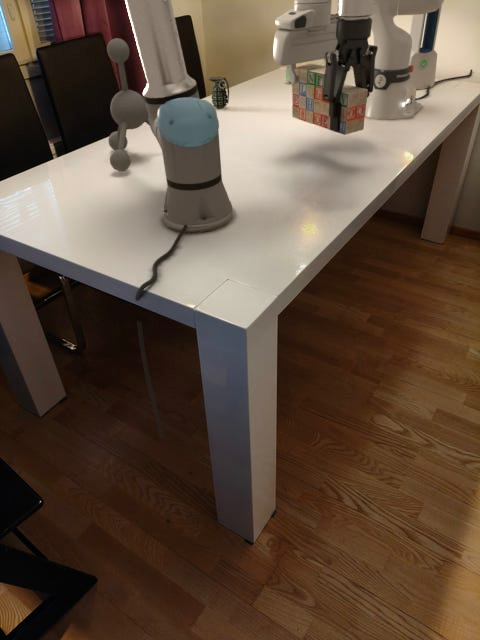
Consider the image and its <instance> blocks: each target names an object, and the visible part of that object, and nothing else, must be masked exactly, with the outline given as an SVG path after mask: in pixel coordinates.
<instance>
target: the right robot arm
mask: <svg viewBox="0 0 480 640" xmlns="http://www.w3.org/2000/svg"><path fill="white" fill-rule="evenodd" d="M444 2H445V0H374V8H373V14H372V15H371V16H370V18H371V19H372V27H371V33H372V36H373V45H374V46H377V47H378V49H377V53H376V56H375V69H374V85H373V91H372V92H371V93H370V92H369V93H370V95H369V97H367V103H366V111H365V117H367V118H370V119H376V120H398V119H411V118H413V117H414V116H415V114H416V113H417V112H418V111H419V110H420V109H421V108H422V103H420V102H419V101H417V100H422V99H425V98H426V97H427V96H429V95H430V89H431V88H430V86H428V88H426V94H424V95H422V96H421V97H418V98H416V97H417V89H416V88H415V87H414V86H413V84H412V83H411V81H410V80H409V78H410V72H413V69H414V67H413V65H411V66H409V61H410V55H411V48H412V38H411V36H410V33H409V32H407V31H406V30H405V29H403V28H401V27H400V26H398V25H396V24H395V20H394V18H395V17H397V16H413V15H421V14H426V15H427V13H430V12H434V11H436V10H437V9H439V7H440V6H441V5H442V6H443V3H444ZM332 3H333V1H332V0H293V8H290V9H289V10H288V11H286V12H284V13H282V14H281V15H279V16H277V17H276V18H275V22H274V23H275V27H276V28H277V30H276V31H275V34H274V36H273V37H274V38H273V48H272V50H273V53H272V55H273V56H272V57H273V61H274V63H275V64H276V65H277V66H282V67H286V68H287V70H288V72H289V74H290V81H289V82H290V84H291V85H292V84H296V83H299V75H296V73H295V70H294V69H296V64H297V63H303V62H309V61H314V60H320V59H324V62H325V64H324V66H326V60H325V54H326V52H332V51H334V50H335V49H336V46H337V43H338V40H337V38H336V26H337V20H338V19H340V17H339V16H338V15H337V13H332ZM472 74H473V69H470V71H469V74H465V75H461V76H460V75H459V76H453V77H448V78H443V79H439V80H437V81H436V80H435V83H434V85H437V84H440V83H443V82H448V81H453V80H459V79H465V78H469V77H470V76H472Z"/></svg>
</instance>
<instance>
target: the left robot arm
mask: <svg viewBox="0 0 480 640" xmlns="http://www.w3.org/2000/svg"><path fill="white" fill-rule="evenodd" d="M124 1H125V5H126V9H127V13H128V17H129V20H130V23H131V27H132V32H133V34H134V39H135V42H136V47H137V50H138V53H139V54H138V55H139V57H140V62H141V65H142V68H143V72H144V77H145V80H146V86H145V88H144V89H143V92H142V97H143V99H144V100H145V103H146V107H147V111H148V112H147V117H149V125H150V126H149V125H148V126H149V128H150V131H151V132H152V134H153V136H154V138H155V139H156V141H157V143H158V145H159V147H160V149H161V153H162V159H163V168H164V174H165V180H166V190H165V191H166V192H165V196H164V203H163V207H162V218H163V222H164V224H165V226H167V227H168V228H169V229H171V230H173V231H177V232H179V233H178V235H177V236H176V238H175V239H174V241H173V244H172V246H171V247H170V248H169V250H168V251H167V252H165V253H164V254H163V255H161V256H159V257H158V258H157V259H156V260H155V261H154V262H153V264H152V276H151V278H150V279H148V280H147V281H145V282H143V283H142V284H141V285H140V286H139V287H138V289H137V292H136V295H135V299H134V300H135V301H139V300H141V296H142V293H143V292H144V290H145V289H146V288H148V287H149V286H150V285H152V284H153V283H154V282H155V281H156V280H157V278H158V266H159V264H160V263H161V262H163V261H164V260H165V259H167V258H168V257H170V256H171V255H172V253H173V252H174V251H175V250H176V249H177V246H178V244H179V242H180V240H181V239H182V237H183V235H184V234H185V233H190V234H191V233H192V234H193V233H194V234H195V233H196V234H197V233H205V232H206V233H207V232H210V231H215V230H216V229H220V228H222V227H224V226H226V225H227V224H228V223H230V221H231V220H232V218H233V216H234V212H233V211H234V210H233V205H232V201H231V200H230V197H229V195H228V192H227V190H226V187H225V184H224V182H223V175H222V174H223V173H222V161H221V159H222V158H221V147H220V146H221V145H220V133H219V131H220V130H219V129H220V122H219V118H218V114H217V108H216V107H214V106H213V105H214V104H213V103H212V102H210V101H208V100H205V99H201V98H200V93H199V90H198V84H197V81H196V80H195V79H194V78H193V77H191V76H190V75H189V74H188V72H187V67H186V62H185V58H184V54H183V48H182V45H181V40H180V35H179V31H178V26H177V21H176V18H175V13H174V8H173V3H172V0H124ZM373 8H374V0H337V13H336V14H337V15H338V16H339V17H340V19H338V20H337V26H336V38H337V40H338V43H337V46H336V49H335V50H334V51H332V52H326V54H325V60H326V69H325V79H324V88H323V97H322V98H323V100H326V101H329V117H330V131H332V132H335V133H338V132H339V129H340V116H341V104H342V103H340V102H339V99H340V96H341V92H342V89H343V85H344V84H345V83H346V79H347V75H348V72H350V70H351V68H352V72H353V79H354V86H356V87H360V88H364V89H368V93H367V97H369V95H370V93H371V92H372V91H373V85H374V69H375V56H376V53H377V49H378V47H377V46H374V44H369V38H370V37H371V36H372V29H371V27H372V19H371V18H370V16H371V15H372V14H373ZM369 92H370V93H369ZM334 96H335V97H334ZM136 324H137V325H136V326H137V333H138V334H137V335H138V343H139V348H140V354H141V360H142V361H141V362H142V366H143V371H144V376H145V380H146V381H145V382H146V385H147V388H148V393H149V397H150V401H151V404H152V408H153V412H154V416H155V421H156V424H157V425H156V426H157V428H158V433H159V438H160V439H161V440H164V438H165V435H164V431H163V427H162V426H163V425H162V422H161V421H162V420H161V418H160V414H159V413H160V412H159V409H158V404H157V401H156V396H155V394H154V389H153V384H152V381H151V376H150V372H149V371H150V370H149V367H148V366H149V365H148V361H147V354H146V347H145V341H144V334H143V333H144V332H143V324H142V321H139V320H136Z"/></svg>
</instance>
